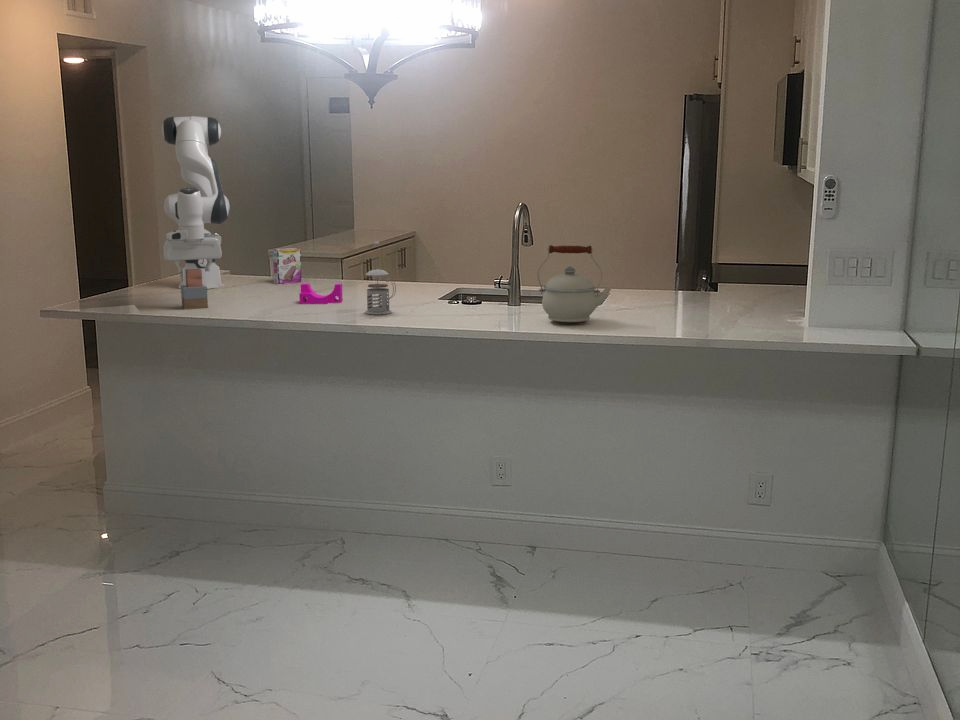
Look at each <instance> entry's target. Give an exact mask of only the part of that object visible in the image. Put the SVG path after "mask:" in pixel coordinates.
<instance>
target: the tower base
mask: <svg viewBox="0 0 960 720" xmlns="http://www.w3.org/2000/svg"><path fill="white" fill-rule="evenodd" d="M208 302H209V301H208V298H197V299H184V298H183V297H181V307H182V308H183V310H197V309H202V310H203V309H209V304H208Z"/></svg>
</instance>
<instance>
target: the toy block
mask: <svg viewBox="0 0 960 720" xmlns="http://www.w3.org/2000/svg"><path fill="white" fill-rule="evenodd" d="M298 298H299V305H328V304H330V303H331V304H341V303H342V302H343V283H335V284H334V287H333V290H332V291H331V292H330V293H329V294H326V295H322V294H318V293H316V292H315V291H314V289H313V288H312V287H311V283H309V282H305V283H304V282H302V283H301V284H300V292H299V297H298ZM337 298H338V299H337Z"/></svg>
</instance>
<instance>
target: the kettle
mask: <svg viewBox="0 0 960 720" xmlns="http://www.w3.org/2000/svg"><path fill="white" fill-rule="evenodd" d="M547 251H548V253H547V257H546V259H545V260H544V261H543V262H542V263H541V265H540V266H539V268H538V270H537V271H536V272H537V273H536V274H537V281H538V284H539V286H540V288H539V289H538V292H540V294H543V296H542V298H541V299H542V300H541V305H542V309H543V310H544V312H545V313H546V314H547V319H548V320H550V321H554V322H561V323H581V322H586V321H589V320H590V316H591V315H592V313H594V311H595V310H596V309H597V308H598V307H599V306H600V305H602V304H603V302H604V301H606V300H605V299H606V298H607V296H608V295H609V294H610V292H611V290H612V287H609V286H606V287H605V288H603V291H602V292H601V290H600V289H599V287H600V285H601V283H602V279H603V270H602V268H601V267H600V266H599V264H598V263H597V261H596V260H595V259H594V258H593V251H594V248H593V246H592V245H587V246H583V245H557V246H554V245H552V244H550V245H548V247H547ZM553 253H557V254H558V253H559V254H584V253H586V254H589V255H590V257H591V260H592V261H593V263H594V264H595V265H596V267H597V268H598V269H599V272H600V274H601V277H600V281H599V284H598V285H597V287H596V286H595V285H594V284H593V282H592V280H591V279H590V278H588V277H586V276H584V275H581V274H576V272H577V271H576V270H575V268H574V267H573V266H571V265H570V266H568V267H566V268H565V269H564V270H563V272H564V273H563V274H562V273H561V274H557V275H555V276H554V275H553V276H552V277H551V278H549V279H548V280H547V282H546V284H545V285H544V286H542V283H541V281H540V276H539V273H540V270H541V268H542V266H543V265H545V263H546V262H547V261H548V259H549V257H550V254H553Z"/></svg>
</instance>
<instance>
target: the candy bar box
mask: <svg viewBox="0 0 960 720" xmlns="http://www.w3.org/2000/svg"><path fill="white" fill-rule="evenodd" d="M301 251H302V250H301V248H296V247H290V248H273V249H272V267H273V270H272V273H273V274H272V277H273V278H272V279H273V284H274V283H276V284H275V285H278V284H281V285H286V284H285V283H290V284H298V283H302V254H301V253H302V252H301Z"/></svg>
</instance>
